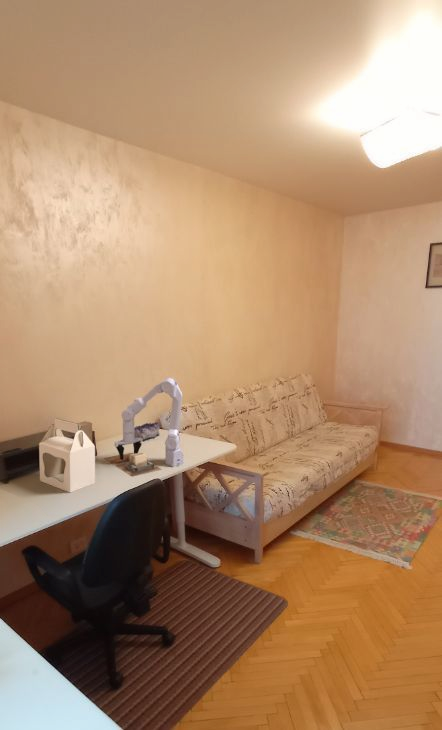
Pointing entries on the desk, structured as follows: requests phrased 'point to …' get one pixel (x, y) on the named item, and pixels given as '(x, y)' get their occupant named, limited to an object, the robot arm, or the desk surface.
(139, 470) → the lane board
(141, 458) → the block
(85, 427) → the decorative block
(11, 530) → the desk surface
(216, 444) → the desk surface
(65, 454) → the gable box
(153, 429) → the geode
